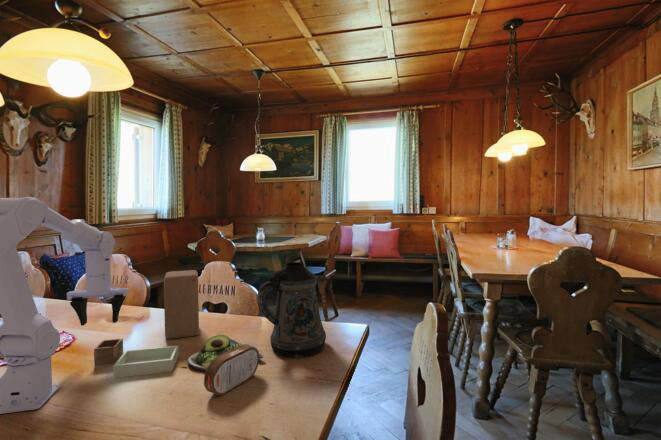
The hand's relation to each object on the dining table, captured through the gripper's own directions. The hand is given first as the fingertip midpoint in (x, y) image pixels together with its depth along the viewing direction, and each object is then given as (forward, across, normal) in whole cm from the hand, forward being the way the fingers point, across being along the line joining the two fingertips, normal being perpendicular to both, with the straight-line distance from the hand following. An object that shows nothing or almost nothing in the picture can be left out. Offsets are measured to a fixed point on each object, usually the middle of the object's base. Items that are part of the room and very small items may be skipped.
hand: (99, 323), depth 96 cm
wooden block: (+10, -20, -13) cm, 25 cm away
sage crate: (+10, -14, +10) cm, 20 cm away
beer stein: (+10, -53, +10) cm, 55 cm away
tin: (+10, -36, +26) cm, 46 cm away
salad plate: (+10, -33, +10) cm, 36 cm away
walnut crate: (+10, -3, +4) cm, 11 cm away
